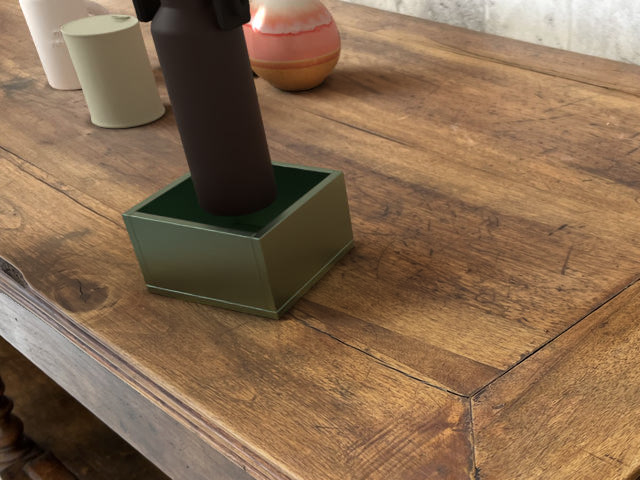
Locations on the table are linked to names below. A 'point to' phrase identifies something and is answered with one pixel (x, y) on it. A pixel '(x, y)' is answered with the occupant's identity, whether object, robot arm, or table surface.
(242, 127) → the vinegar
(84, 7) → the mug
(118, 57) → the can
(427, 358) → the table surface
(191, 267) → the green open box
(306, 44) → the vase
